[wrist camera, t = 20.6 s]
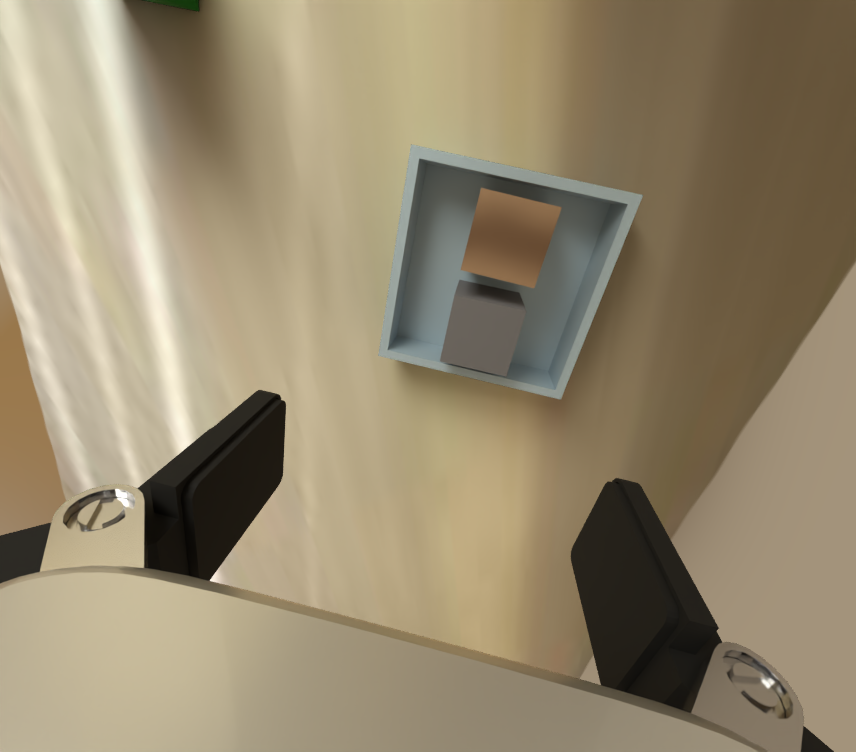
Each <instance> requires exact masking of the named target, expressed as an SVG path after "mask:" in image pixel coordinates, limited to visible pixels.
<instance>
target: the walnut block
mask: <svg viewBox="0 0 856 752" xmlns="http://www.w3.org/2000/svg"><path fill="white" fill-rule="evenodd" d="M561 208H562V207H558V206H554V205H550V204H546V203H542V202H538V201H534V200H529V199H525V198H521V197H517V196H513V195H509V194H505V193H501V192H497V191H492V190H488V189H484V188H481V190H480V194H479V198H478V202H477V206H476V210H475V214H474V218H473V222H472V226H471V230H470V234H469V238H468V242H467V246H466V250H465V254H464V258H463V262H462V266H461V270H463V271H467V272H471V273H475V274H479V275H483V276H487V277H491V278H495V279H499V280H503V281H507V282H511V283H515V284H519V285H523V286H527V287H531V288H534V287H535V285H536V282H537V279H538V276H539V273H540V270H541V267H542V264H543V261H544V258H545V255H546V252H547V249H548V247H549V244H550V241H551V238H552V235H553V232H554V229H555V226H556V223H557V220H558V217H559V214H560V211H561Z"/></svg>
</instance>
